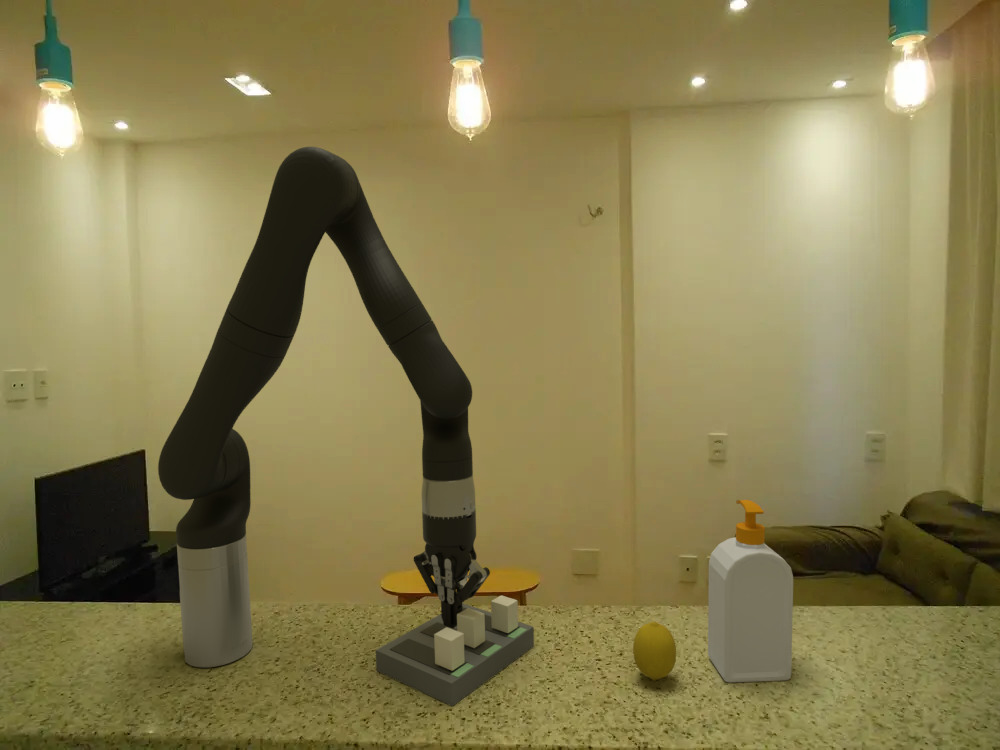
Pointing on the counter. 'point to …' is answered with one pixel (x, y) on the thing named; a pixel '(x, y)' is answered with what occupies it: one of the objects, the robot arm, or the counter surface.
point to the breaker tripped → (471, 627)
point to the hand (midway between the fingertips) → (452, 624)
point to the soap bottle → (750, 606)
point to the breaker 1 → (449, 648)
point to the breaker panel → (417, 668)
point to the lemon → (654, 650)
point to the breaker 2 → (504, 614)
